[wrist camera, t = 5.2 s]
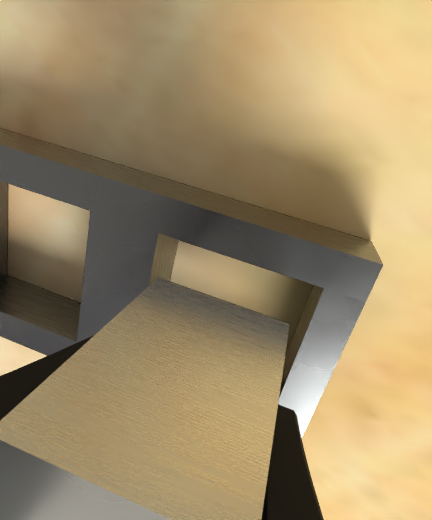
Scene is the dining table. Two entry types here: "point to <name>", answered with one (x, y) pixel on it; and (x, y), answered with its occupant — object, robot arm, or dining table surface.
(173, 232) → the dark grey flat frame
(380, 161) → the dining table surface
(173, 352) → the block
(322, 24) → the dining table surface
